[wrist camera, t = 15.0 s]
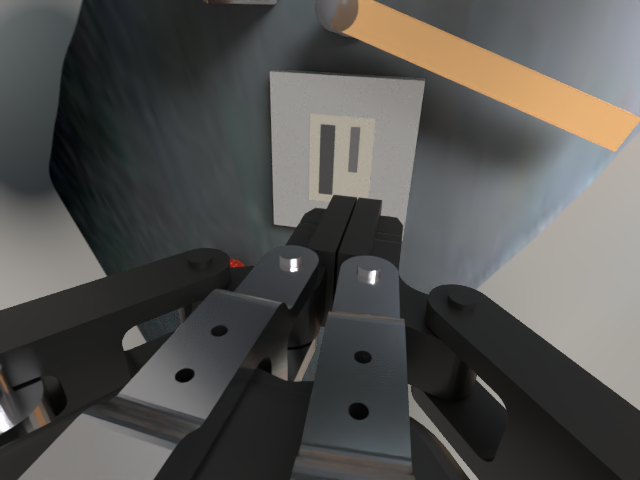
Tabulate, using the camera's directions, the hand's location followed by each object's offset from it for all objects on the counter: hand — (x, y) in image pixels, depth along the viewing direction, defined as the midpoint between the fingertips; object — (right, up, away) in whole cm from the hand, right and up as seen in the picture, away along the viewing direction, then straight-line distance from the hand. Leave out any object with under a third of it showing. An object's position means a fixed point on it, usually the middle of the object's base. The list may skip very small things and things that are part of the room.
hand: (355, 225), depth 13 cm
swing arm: (+12, +15, +24) cm, 31 cm away
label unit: (+2, +9, +35) cm, 37 cm away
